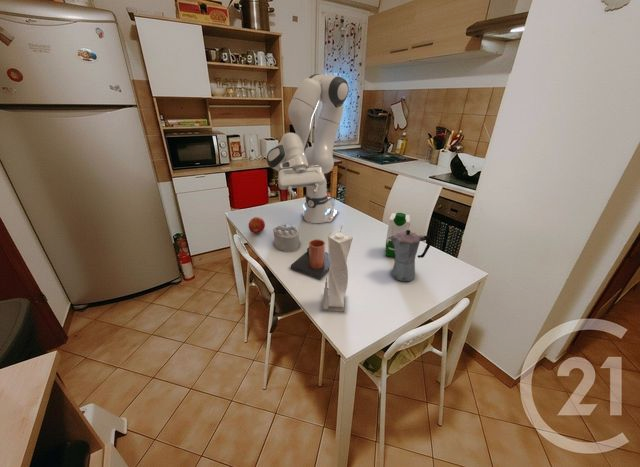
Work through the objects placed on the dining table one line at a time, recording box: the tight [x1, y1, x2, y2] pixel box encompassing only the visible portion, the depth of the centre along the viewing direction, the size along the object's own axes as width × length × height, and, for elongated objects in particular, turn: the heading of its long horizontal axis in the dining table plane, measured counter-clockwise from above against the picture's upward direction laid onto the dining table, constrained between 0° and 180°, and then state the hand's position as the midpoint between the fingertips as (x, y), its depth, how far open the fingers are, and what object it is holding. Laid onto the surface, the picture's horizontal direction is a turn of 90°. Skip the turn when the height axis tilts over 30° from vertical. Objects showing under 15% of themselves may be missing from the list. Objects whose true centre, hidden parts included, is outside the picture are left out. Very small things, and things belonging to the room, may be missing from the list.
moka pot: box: [389, 229, 433, 282], centre depth 100 cm, size 10×15×20 cm, turn 88°
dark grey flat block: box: [290, 246, 330, 280], centre depth 110 cm, size 16×14×4 cm
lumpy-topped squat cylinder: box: [273, 224, 300, 252], centre depth 123 cm, size 10×13×9 cm
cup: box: [308, 239, 326, 269], centre depth 105 cm, size 6×6×10 cm
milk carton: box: [385, 212, 411, 259], centre depth 114 cm, size 9×9×20 cm
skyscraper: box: [322, 224, 353, 313], centre depth 84 cm, size 8×8×28 cm
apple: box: [248, 216, 266, 234], centre depth 134 cm, size 8×8×8 cm
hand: (305, 195), depth 110 cm, fingers open, 8 cm apart
